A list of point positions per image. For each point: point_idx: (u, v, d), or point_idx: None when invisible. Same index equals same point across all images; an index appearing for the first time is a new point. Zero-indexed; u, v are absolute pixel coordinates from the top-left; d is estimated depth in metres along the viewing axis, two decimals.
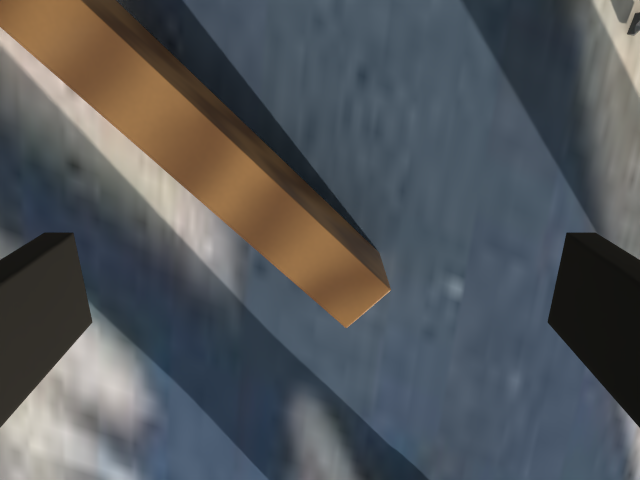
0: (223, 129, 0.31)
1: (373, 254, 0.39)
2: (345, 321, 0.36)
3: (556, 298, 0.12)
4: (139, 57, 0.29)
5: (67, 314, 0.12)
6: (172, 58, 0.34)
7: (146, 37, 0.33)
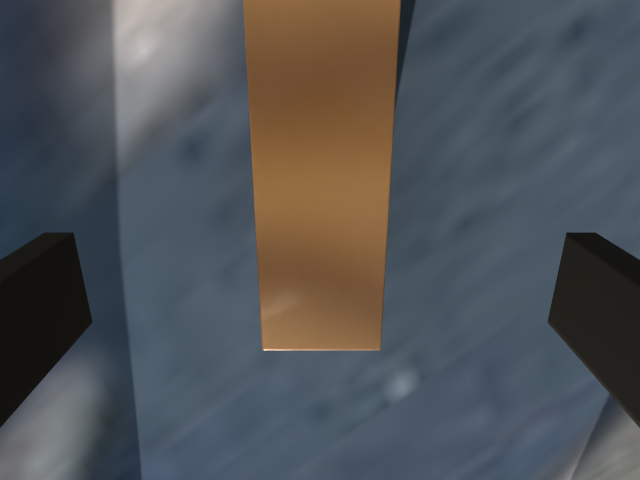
0: None
1: None
2: (271, 339, 0.18)
3: (556, 298, 0.12)
4: None
5: (67, 314, 0.12)
6: None
7: None
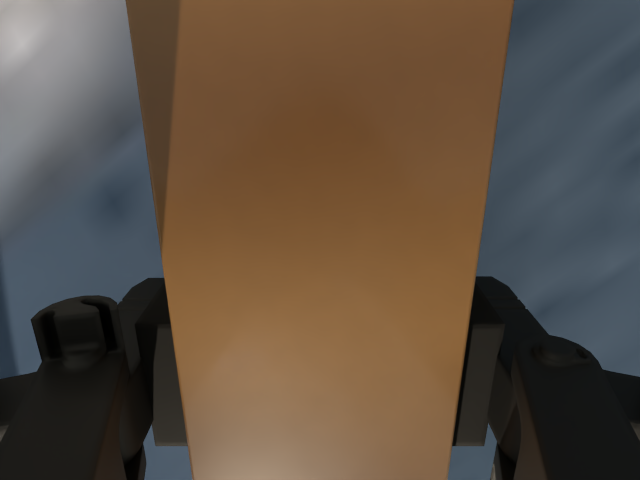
0: None
1: None
2: None
3: None
4: None
5: None
6: None
7: None
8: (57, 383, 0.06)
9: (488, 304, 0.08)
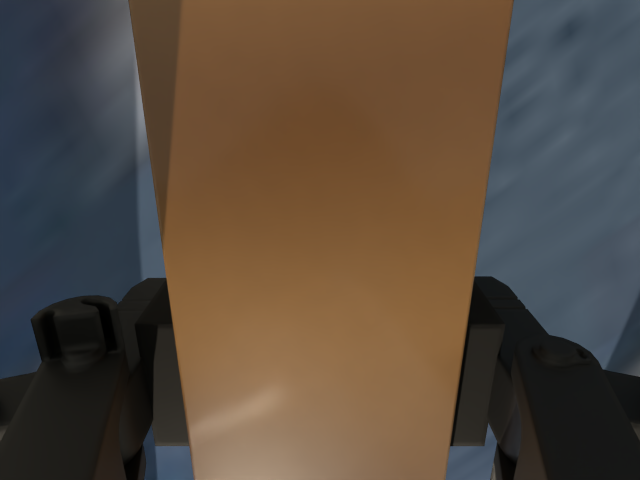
0: None
1: None
2: None
3: None
4: None
5: None
6: None
7: None
8: (57, 383, 0.06)
9: (488, 304, 0.08)
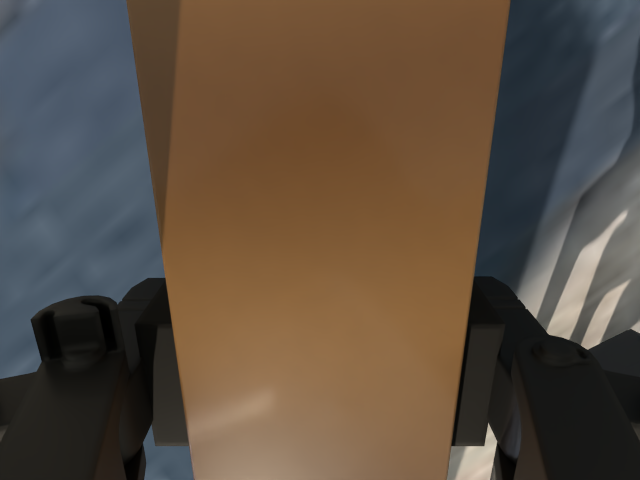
0: None
1: None
2: None
3: None
4: None
5: None
6: None
7: None
8: (57, 383, 0.06)
9: (488, 304, 0.08)
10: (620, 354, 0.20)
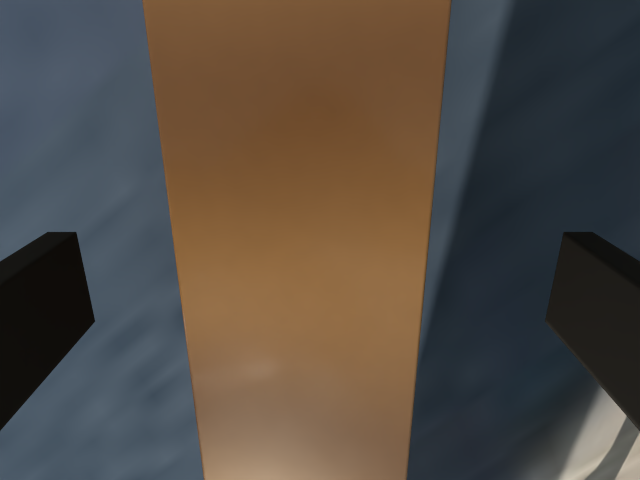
0: None
1: None
2: None
3: (553, 297, 0.12)
4: None
5: (70, 313, 0.12)
6: None
7: None
8: None
9: None
10: None
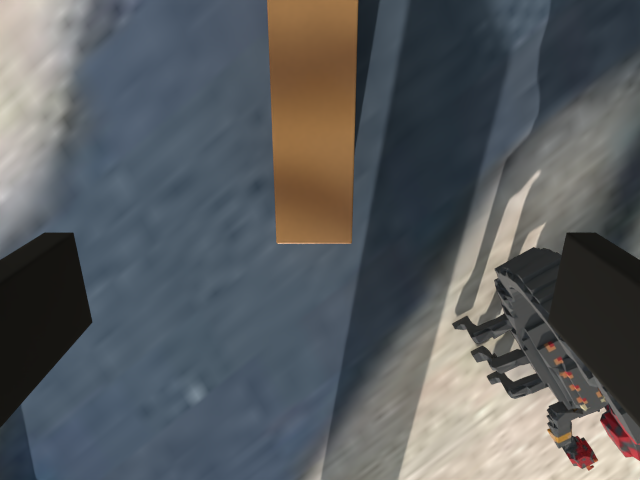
0: None
1: None
2: (282, 235, 0.29)
3: (556, 298, 0.12)
4: None
5: (67, 314, 0.12)
6: None
7: None
8: None
9: None
10: (519, 258, 0.29)
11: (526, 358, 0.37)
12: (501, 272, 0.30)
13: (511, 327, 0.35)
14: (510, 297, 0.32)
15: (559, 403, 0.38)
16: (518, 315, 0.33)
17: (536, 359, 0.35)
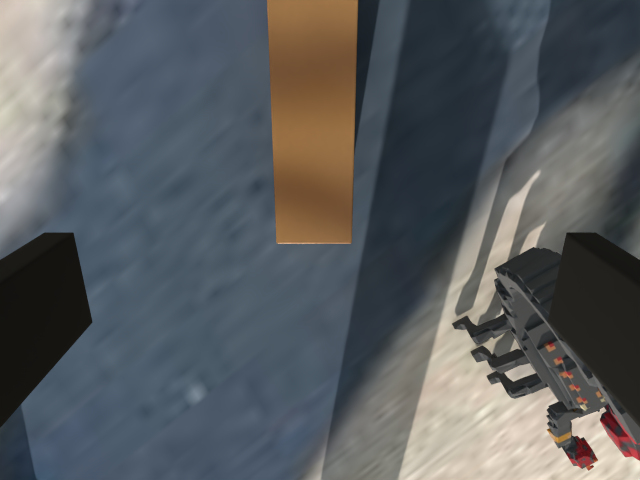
0: None
1: None
2: (282, 235, 0.29)
3: (556, 298, 0.12)
4: None
5: (67, 314, 0.12)
6: None
7: None
8: None
9: None
10: (519, 258, 0.29)
11: (526, 358, 0.37)
12: (501, 272, 0.30)
13: (511, 327, 0.35)
14: (510, 297, 0.32)
15: (559, 403, 0.38)
16: (518, 315, 0.33)
17: (536, 359, 0.35)
